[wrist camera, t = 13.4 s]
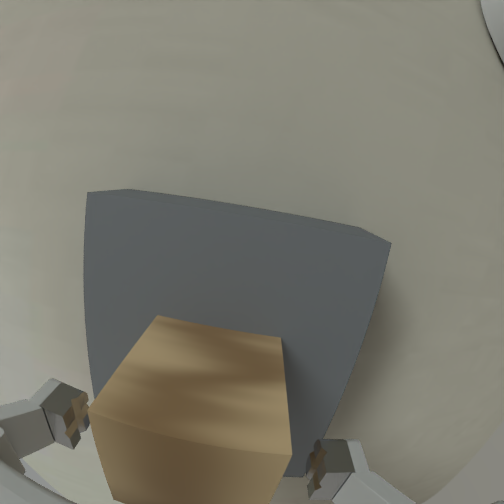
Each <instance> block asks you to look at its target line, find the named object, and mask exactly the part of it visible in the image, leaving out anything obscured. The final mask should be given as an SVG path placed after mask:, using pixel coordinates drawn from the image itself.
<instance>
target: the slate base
mask: <svg viewBox="0 0 504 504" xmlns="http://www.w3.org/2000/svg"><path fill="white" fill-rule="evenodd" d="M390 248H391V243H390V242H388V241H386V240H384V239H382V238H380V237H378V236H376V235H374V234H372V233H370V232H368V231H366V230H364V229H362V228H359V227H354V226H349V225H344V224H339V223H334V222H329V221H324V220H319V219H314V218H309V217H304V216H298V215H293V214H288V213H282V212H276V211H271V210H265V209H259V208H254V207H248V206H242V205H236V204H229V203H223V202H217V201H210V200H204V199H197V198H191V197H184V196H177V195H170V194H162V193H155V192H147V191H140V190H132V189H121V190H109V191H97V192H87V203H86V215H85V232H84V307H85V324H86V337H87V347H88V357H89V365H90V373H91V380H92V386H93V392H94V398H96V397H97V396H98V394H99V393H100V391H101V390H102V389H103V387H104V386H105V385H106V383H107V382H108V380H109V379H110V378H111V376H112V375H113V374H114V372H115V371H116V369H117V368H118V367H119V365H120V364H121V363H122V361H123V360H124V359H125V357H126V356H127V355H128V353H129V352H130V351H131V349H132V348H133V347H134V345H135V344H136V343H137V341H138V340H139V339H140V337H141V336H142V335H143V333H144V332H145V331H146V329H147V328H148V327H149V325H150V324H151V323H152V321H153V320H154V319H155V317H156V316H157V315H160V316H164V317H169V318H173V319H178V320H183V321H188V322H193V323H198V324H203V325H208V326H213V327H219V328H224V329H230V330H235V331H241V332H247V333H253V334H260V335H266V336H273V337H280V338H281V343H282V353H283V362H284V372H285V382H286V392H287V403H288V413H289V424H290V435H291V446H292V457H291V459H290V461H289V463H288V466H287V468H286V470H285V472H284V474H283V476H284V477H303V476H304V474H305V472H306V462H307V458H308V456H309V454H310V453H311V452H313V451H314V447H313V445H314V443H315V441H316V440H317V439H323V437H324V435H325V433H326V431H327V429H328V427H329V425H330V422H331V420H332V418H333V416H334V414H335V411H336V409H337V407H338V404H339V402H340V400H341V397H342V395H343V393H344V390H345V388H346V385H347V383H348V380H349V378H350V375H351V373H352V370H353V368H354V365H355V362H356V360H357V357H358V354H359V351H360V349H361V346H362V343H363V340H364V337H365V334H366V331H367V328H368V325H369V322H370V319H371V316H372V313H373V310H374V306H375V303H376V300H377V296H378V293H379V290H380V286H381V282H382V279H383V275H384V271H385V268H386V264H387V260H388V256H389V252H390Z"/></svg>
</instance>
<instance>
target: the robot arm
mask: <svg viewBox="0 0 504 504" xmlns="http://www.w3.org/2000/svg"><path fill="white" fill-rule="evenodd" d="M481 6H482V11H483V15H484V18H485V21H486V24H487V27H488V30H489V32H490V35H491V37H492V39H493V42H494V44H495V46H496V48H497V51H498V53H499V55H500V57H501V59H502V61H503V63H504V0H481ZM87 402H88V395H87V393H85V392H84V391H81V390H79V389H76V388H74V387H72V386H70V385H67V384H65V383H63V382H60V381H58V380H56V379H54V378H52V379H49V380H48V381H47V382H46V383H45V384H44V385H43V386H42V387H41V388H40V389H39V390H38V391H37V392H36V393H35V394H34V396H33V397H32V398H31V399H30V400H29V401H28V400H26V399H25V400H21V401H17V402H13V403H9V404H5V405H1V406H0V504H77V503H74V502H72V501H70V500H68V499H66V498H64V497H62V496H60V495H58V494H56V493H54V492H53V491H51V490H49V489H47V488H45V487H43V486H41V485H40V484H38V483H36V482H35V481H33V480H31V479H30V478H28V477H26V476H25V475H24V473H25V468H24V467H23V465H22V463H21V462H20V460H19V459H20V458H23V457H25V456H27V455H29V454H31V453H33V452H36V451H38V450H40V449H42V448H44V447H46V446H48V445H50V444H52V443H54V441H55V442H57V443H59V444H62V445H64V446H66V447H68V448H71V449H73V450H74V448H75V447H76V445H77V444H78V442H79V441H80V439H81V436H80V433H81V432H84V431H86V430H87V428H88V426H89V424H90V421H89V416H88V412H87V410H88V408H89V406H88V405H87V404H86V403H87ZM313 447H314V451H313V452H311V453H310V454H309V456H308V458H307V462H306V477H307V478H308V479H310V482H309V484H308V485H307V488H308V496H309V500H332V502H333V503H334V504H417V503H415V502H414V501H412V500H411V499H410V498H408V497H407V496H406V495H404V494H403V493H401V492H400V491H399V490H397V489H396V488H395V487H393V486H392V485H391V484H389V483H388V482H387V481H386V480H384V479H383V478H382V477H380V476H379V475H378V474H377V473H375V472H374V471H370V470H369V467H368V464H367V461H366V458H365V455H364V452H363V449H362V446H361V443H360V441H359V440H358V439H345V440H344V439H317V440H316V441H315V443H314V445H313ZM492 504H504V501H497V502H494V503H492Z"/></svg>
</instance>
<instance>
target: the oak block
mask: <svg viewBox="0 0 504 504" xmlns="http://www.w3.org/2000/svg"><path fill="white" fill-rule="evenodd" d="M87 412H88V416H89V421H90V425H91V429H92V433H93V437H94V440H95V444H96V448H97V451H98V455H99V458H100V461H101V464H102V468H103V471H104V474H105V477H106V480H107V483H108V485H109V488H110V491H111V494H112V496H113V499H114V500H116V501H119V502H122V503H125V504H269V503H270V501H271V499H272V497H273V495H274V493H275V491H276V489H277V487H278V485H279V483H280V481H281V478H282V476H283V474H284V472H285V470H286V468H287V466H288V463H289V461H290V459H291V457H292V446H291V435H290V424H289V413H288V403H287V392H286V382H285V372H284V362H283V353H282V343H281V338H280V337H273V336H266V335H260V334H253V333H247V332H241V331H235V330H230V329H224V328H219V327H213V326H208V325H203V324H198V323H193V322H188V321H183V320H178V319H173V318H169V317H164V316H160V315H157V316H156V317H155V319H154V320H153V321H152V323H151V324H150V325H149V327H148V328H147V329H146V331H145V332H144V333H143V335H142V336H141V337H140V339H139V340H138V341H137V343H136V344H135V345H134V347H133V348H132V349H131V351H130V352H129V353H128V355H127V356H126V357H125V359H124V360H123V361H122V363H121V364H120V365H119V367H118V368H117V369H116V371H115V372H114V374H113V375H112V376H111V378H110V379H109V380H108V382H107V383H106V385H105V386H104V387H103V389H102V390H101V391H100V393H99V394H98V396H97V397H96V398H95V400H94V401H93V403H92V404H91V405H90V407H89V408H88V410H87Z"/></svg>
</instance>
